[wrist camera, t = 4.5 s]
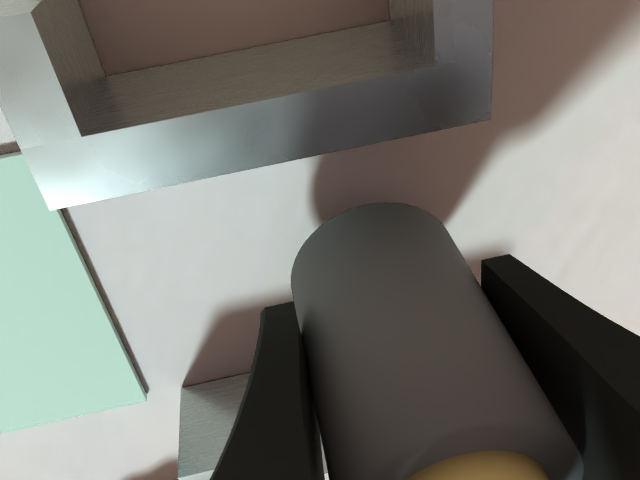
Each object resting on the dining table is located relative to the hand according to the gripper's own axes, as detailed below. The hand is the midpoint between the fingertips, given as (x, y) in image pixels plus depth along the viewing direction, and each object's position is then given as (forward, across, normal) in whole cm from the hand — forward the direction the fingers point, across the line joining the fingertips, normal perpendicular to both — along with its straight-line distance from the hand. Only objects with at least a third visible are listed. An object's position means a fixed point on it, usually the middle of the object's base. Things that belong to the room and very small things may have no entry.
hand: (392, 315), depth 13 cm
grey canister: (+2, 0, 0) cm, 2 cm away
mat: (+3, +9, 0) cm, 10 cm away
